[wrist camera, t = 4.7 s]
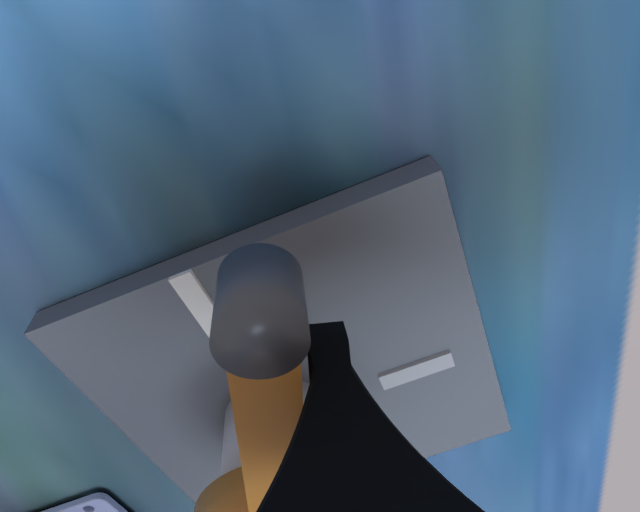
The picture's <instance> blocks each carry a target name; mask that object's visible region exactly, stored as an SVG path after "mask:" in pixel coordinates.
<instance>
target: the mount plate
mask: <svg viewBox="0 0 640 512" xmlns="http://www.w3.org/2000/svg"><path fill="white" fill-rule="evenodd" d="M253 243H267V244H273V245H276V246H279V247H281V248H283V249H285V250H287V251H288V252H290V253H291V254H292V255H293V256H294V257H295V258H296V259H297V261H298V262H299V264H300V266H301V269H302V273H303V281H304V289H305V297H306V305H307V313H308V321H309V324H316V323H327V322H337V321H343V322H344V325H345V329H346V332H347V336H348V339H349V348H350V359H351V365H352V367H353V368H354V370H355V371H356V373H357V375H358V376H359V378H360V379H361V381H362V382H363V384H364V386H365V387H366V388H367V390H368V391H369V393H370V394H371V396H372V397H373V398H374V400H375V401H376V402H377V404H378V405H379V407H380V408H381V409H382V410H383V412H384V413H385V414H386V416H387V417H388V418H389V419H390V421H391V422H392V423H393V424H394V425H395V426H396V428H397V429H398V430H399V431H400V432H401V433H402V435H403V436H404V437H405V438H406V439H407V440H408V441H409V442H410V443H411V444H412V446H413V447H414V448H415V449H416V450H417V451H418V452H419V453H420V454H421V455H422V456H423V457H424V458H427V457H430V456H433V455H436V454H439V453H442V452H445V451H448V450H451V449H454V448H458V447H461V446H464V445H467V444H470V443H473V442H476V441H479V440H482V439H486V438H489V437H492V436H495V435H498V434H501V433H504V432H507V431H510V430H511V428H510V424H509V420H508V416H507V413H506V409H505V405H504V402H503V398H502V394H501V390H500V387H499V383H498V379H497V375H496V372H495V368H494V364H493V360H492V357H491V353H490V349H489V345H488V342H487V338H486V334H485V330H484V327H483V323H482V319H481V315H480V312H479V308H478V304H477V300H476V297H475V293H474V289H473V285H472V282H471V278H470V274H469V270H468V267H467V263H466V259H465V255H464V252H463V248H462V244H461V240H460V237H459V233H458V229H457V225H456V222H455V218H454V214H453V210H452V207H451V203H450V199H449V195H448V192H447V188H446V184H445V180H444V177H443V173H442V170H441V168H440V167H439V166H438V164H437V163H436V162H435V161H434V159H433V158H432V157H431V155H430V156H428V157H425V158H423V159H420V160H418V161H415V162H413V163H410V164H407V165H405V166H402V167H400V168H397V169H395V170H392V171H390V172H387V173H385V174H382V175H380V176H377V177H375V178H372V179H370V180H367V181H365V182H362V183H360V184H357V185H355V186H352V187H350V188H347V189H345V190H342V191H340V192H337V193H335V194H332V195H330V196H327V197H325V198H322V199H319V200H317V201H314V202H312V203H309V204H307V205H304V206H302V207H299V208H297V209H294V210H292V211H289V212H287V213H284V214H282V215H279V216H277V217H274V218H272V219H269V220H267V221H264V222H262V223H259V224H257V225H254V226H252V227H249V228H247V229H244V230H242V231H239V232H236V233H234V234H231V235H229V236H226V237H224V238H221V239H219V240H216V241H214V242H211V243H209V244H206V245H204V246H201V247H199V248H196V249H194V250H191V251H189V252H186V253H184V254H181V255H179V256H176V257H174V258H171V259H169V260H166V261H164V262H161V263H159V264H156V265H154V266H151V267H148V268H146V269H143V270H141V271H138V272H136V273H133V274H131V275H128V276H126V277H123V278H121V279H118V280H116V281H113V282H111V283H108V284H106V285H103V286H101V287H98V288H96V289H93V290H91V291H88V292H86V293H83V294H81V295H78V296H76V297H73V298H71V299H68V300H66V301H63V302H60V303H58V304H55V305H53V306H50V307H48V308H45V309H43V310H40V311H38V312H36V314H35V316H34V317H33V319H32V321H31V323H30V324H29V326H28V328H27V329H26V331H25V333H24V335H25V336H26V337H27V338H28V339H29V340H30V341H31V342H32V343H33V344H34V345H35V346H36V347H37V348H38V349H39V350H40V351H41V352H42V353H43V354H44V355H45V356H46V357H47V358H48V359H49V360H50V361H51V362H52V363H53V364H54V365H55V366H56V367H57V368H58V369H59V370H60V371H61V372H62V373H63V374H64V375H65V376H66V377H67V378H68V379H69V380H70V381H71V382H72V383H73V384H74V385H75V386H76V387H77V388H79V389H80V390H81V391H82V392H83V393H84V394H85V395H86V396H87V397H88V398H89V399H90V400H91V401H92V402H93V403H94V404H95V405H96V406H97V407H98V408H99V409H100V410H101V411H102V412H103V413H104V414H105V415H106V416H107V417H108V418H109V419H110V420H111V421H112V422H113V423H114V424H115V425H116V426H117V427H118V428H119V429H120V430H121V431H122V432H123V433H124V434H125V435H126V436H127V437H128V438H129V439H130V440H131V441H132V442H133V443H134V444H135V445H136V446H137V447H138V448H139V449H140V450H141V451H142V452H143V453H144V454H145V455H146V456H147V457H148V458H149V459H150V460H151V461H152V462H153V463H154V464H155V465H156V466H157V467H158V468H159V469H160V470H161V471H162V472H163V473H164V474H165V475H166V476H167V477H168V478H169V479H170V480H171V481H172V482H173V483H174V484H176V485H177V486H178V487H179V488H180V489H181V490H182V491H183V492H184V493H185V494H186V495H187V496H188V497H189V498H190V499H191V500H192V501H193V502H194V503H195V504H196V501H197V499H198V497H199V496H200V494H201V493H202V492H203V491H204V489H205V488H206V487H207V486H208V485H209V484H211V483H212V482H213V481H214V480H216V479H217V478H219V477H220V476H222V475H224V474H226V473H227V472H229V471H231V470H234V469H236V468H239V467H241V460H240V454H239V448H238V441H237V435H236V429H235V423H234V416H233V410H232V404H231V398H230V391H229V385H228V379H227V373H226V370H224V369H223V368H222V367H220V366H219V365H218V364H217V362H216V361H215V360H214V358H213V357H212V354H211V352H210V348H209V338H210V330H211V322H212V313H213V305H214V297H215V289H216V281H217V273H218V269H219V267H220V264H221V263H222V261H223V260H224V259H225V257H226V256H227V255H228V254H230V253H231V252H232V251H234V250H235V249H237V248H239V247H242V246H244V245H248V244H253ZM301 369H302V392H303V404H304V401H305V398H306V394H307V391H308V387H309V384H310V381H309V369H308V356H306V358H305V359H304V360H303V362H302V363H301Z"/></svg>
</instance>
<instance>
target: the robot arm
mask: <svg viewBox="0 0 640 512" xmlns="http://www.w3.org/2000/svg"><path fill="white" fill-rule="evenodd" d="M309 329H310V337H311V345H310V349H309V352H308V354H307V356H308V369H309V381H310V384H309V387H308V391H307V394H306V398H305V401H304V404H303V408H302V411H301V414H300V417H299V420H298V423H297V426H296V428H295V431H294V434H293V436H292V439H291V441H290V444H289V446H288V448H287V451H286V453H285V455H284V458H283V460H282V462H281V464H280V467H279V469H278V471H277V473H276V475H275V477H274V479H273V481H272V483H271V485H270V487H269V489H268V491H267V492H266V494H265V496H264V498H263V500H262V502H261V504H260V505H259V507H258V509H257V511H256V512H485V511H483V510H482V509H481V508H480V507H478V506H477V505H476V504H475V503H474V502H472V501H471V500H470V499H469V498H467V497H466V496H465V495H464V494H463V493H462V492H461V491H459V490H458V489H457V488H456V487H455V486H454V485H453V484H451V483H450V482H449V481H448V480H447V479H446V478H445V477H444V476H443V475H442V474H441V473H440V472H439V471H437V470H436V469H435V468H434V467H433V466H432V465H431V464H430V463H429V462H428V461H427V460H426V459H425V458H424V457H423V456H422V455H421V454H420V453H419V452H418V451H417V450H416V449H415V448H414V447H413V446H412V444H411V443H410V442H409V441H408V440H407V439H406V438H405V437H404V436H403V435H402V433H401V432H400V431H399V430H398V429H397V428H396V426H395V425H394V424H393V423H392V422H391V421H390V419H389V418H388V417H387V416H386V414H385V413H384V412H383V410H382V409H381V408H380V407H379V405H378V404H377V402H376V401H375V400H374V398H373V397H372V396H371V394H370V393H369V391H368V390H367V388H366V387H365V386H364V384H363V382H362V381H361V379H360V378H359V376H358V375H357V373H356V371H355V370H354V368H353V367H352V365H351V359H350V348H349V339H348V336H347V332H346V329H345V325H344V322H343V321H337V322H327V323H316V324H309ZM41 512H128V511H126V510H125V509H124V508H123V507H122V506H121V505H119V504H118V503H117V502H116V501H115V500H114V499H112V498H111V497H110V496H109V495H107V494H106V493H99V492H98V493H94V494H91V495H88V496H85V497H82V498H79V499H76V500H73V501H70V502H67V503H64V504H62V505H59V506H56V507H53V508H50V509H47V510H44V511H41Z"/></svg>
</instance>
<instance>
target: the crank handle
mask: <svg viewBox="0 0 640 512" xmlns="http://www.w3.org/2000/svg"><path fill="white" fill-rule="evenodd" d="M310 345H311V337H310V329H309V321H308V313H307V305H306V297H305V289H304V281H303V273H302V269H301V266H300V264H299V262H298V261H297V259H296V258H295V257H294V256H293V255H292V254H291V253H290V252H288V251H287V250H285V249H283V248H281V247H279V246H276V245H273V244H267V243H253V244H248V245H244V246H242V247H239V248H237V249H235V250H234V251H232V252H231V253H230V254H228V255H227V256H226V257H225V259H224V260H223V261H222V263H221V264H220V267H219V269H218V273H217V281H216V289H215V297H214V305H213V313H212V322H211V330H210V338H209V348H210V352H211V354H212V357H213V358H214V360H215V361H216V362H217V364H218V365H219V366H220V367H222V368H223V369H224V370H226V373H227V379H228V385H229V391H230V398H231V404H232V410H233V416H234V423H235V429H236V435H237V441H238V448H239V454H240V460H241V467H239V468H236V469H234V470H231V471H229V472H227V473H226V474H224V475H222V476H220V477H219V478H217V479H216V480H214V481H213V482H212V483H211V484H209V485H208V486H207V487H206V488H205V489H204V491H203V492H202V493H201V494H200V496H199V497H198V499H197V501H196V504H195V507H194V512H256V511H257V509H258V507H259V505H260V504H261V502H262V500H263V498H264V496H265V494H266V492H267V491H268V489H269V487H270V485H271V483H272V481H273V479H274V477H275V475H276V473H277V471H278V469H279V467H280V464H281V462H282V460H283V458H284V455H285V453H286V451H287V448H288V446H289V444H290V441H291V439H292V436H293V434H294V431H295V428H296V426H297V423H298V420H299V417H300V414H301V411H302V408H303V392H302V369H301V363H302V362H303V360H304V359H305V358H306V356H307V354H308V352H309V349H310Z"/></svg>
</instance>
